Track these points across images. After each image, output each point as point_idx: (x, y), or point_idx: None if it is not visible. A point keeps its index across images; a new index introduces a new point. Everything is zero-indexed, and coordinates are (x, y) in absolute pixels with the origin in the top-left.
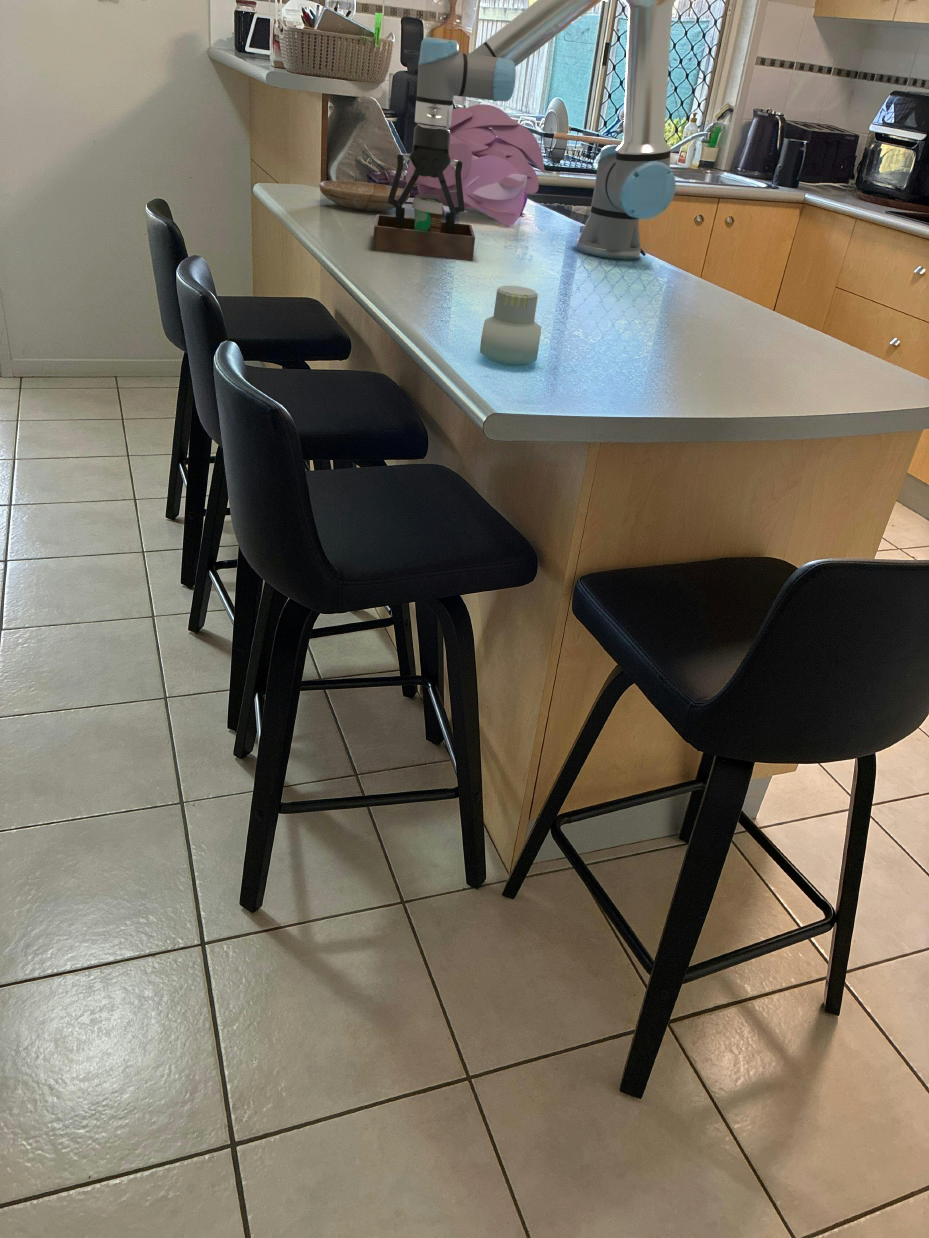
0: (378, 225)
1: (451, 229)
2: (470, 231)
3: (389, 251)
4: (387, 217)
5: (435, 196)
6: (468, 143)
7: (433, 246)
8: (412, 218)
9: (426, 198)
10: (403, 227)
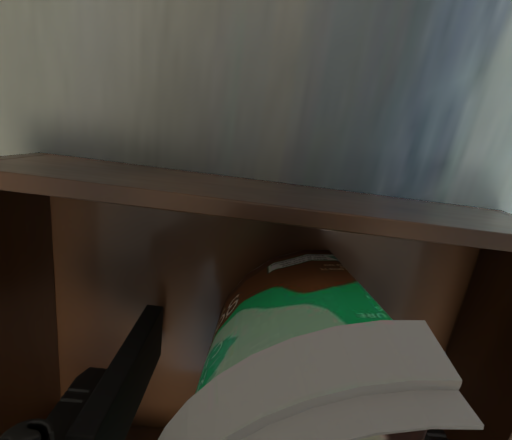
0: (5, 241)
1: None
2: (509, 427)
3: None
4: (22, 189)
5: (416, 415)
6: None
7: None
8: (199, 205)
9: (288, 420)
10: (138, 405)
